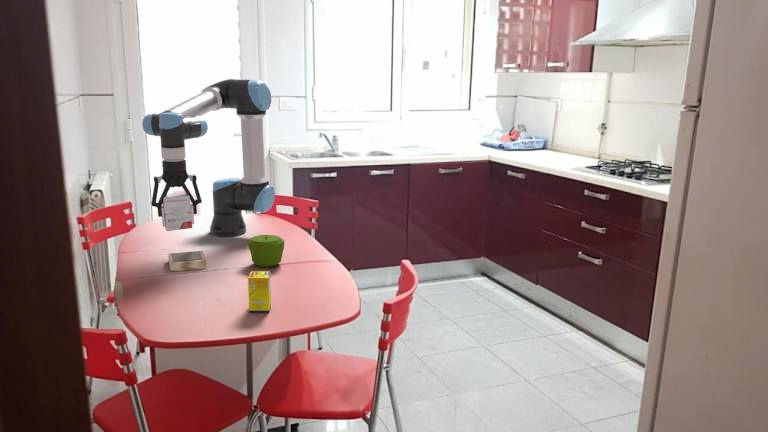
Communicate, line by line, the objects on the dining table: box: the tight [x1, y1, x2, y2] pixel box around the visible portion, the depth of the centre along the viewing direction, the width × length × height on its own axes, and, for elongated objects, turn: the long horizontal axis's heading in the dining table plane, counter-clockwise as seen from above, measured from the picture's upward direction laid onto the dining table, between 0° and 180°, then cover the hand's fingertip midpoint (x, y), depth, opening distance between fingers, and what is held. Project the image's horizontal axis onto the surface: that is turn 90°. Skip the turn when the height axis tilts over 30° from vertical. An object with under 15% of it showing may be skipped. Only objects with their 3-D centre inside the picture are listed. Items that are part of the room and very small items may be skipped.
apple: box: [247, 234, 285, 268], centre depth 217 cm, size 12×12×11 cm
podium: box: [167, 250, 207, 272], centre depth 215 cm, size 12×12×3 cm
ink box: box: [162, 192, 193, 232], centre depth 206 cm, size 9×5×12 cm, turn 116°
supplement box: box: [247, 270, 272, 314], centre depth 176 cm, size 6×6×11 cm
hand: (178, 224), depth 207 cm, fingers closed on ink box, 9 cm apart
